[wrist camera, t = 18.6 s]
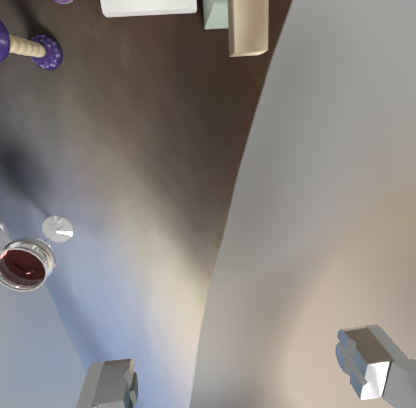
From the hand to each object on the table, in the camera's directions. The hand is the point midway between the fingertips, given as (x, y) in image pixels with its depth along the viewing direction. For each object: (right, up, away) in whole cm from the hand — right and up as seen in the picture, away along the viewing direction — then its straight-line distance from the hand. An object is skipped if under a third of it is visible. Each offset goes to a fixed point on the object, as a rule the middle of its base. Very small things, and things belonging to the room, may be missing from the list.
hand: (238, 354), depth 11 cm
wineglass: (-27, +2, +36) cm, 45 cm away
